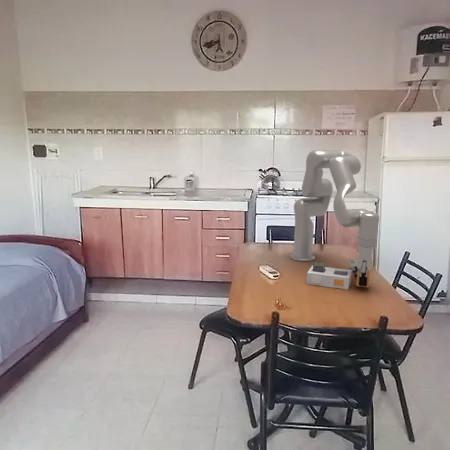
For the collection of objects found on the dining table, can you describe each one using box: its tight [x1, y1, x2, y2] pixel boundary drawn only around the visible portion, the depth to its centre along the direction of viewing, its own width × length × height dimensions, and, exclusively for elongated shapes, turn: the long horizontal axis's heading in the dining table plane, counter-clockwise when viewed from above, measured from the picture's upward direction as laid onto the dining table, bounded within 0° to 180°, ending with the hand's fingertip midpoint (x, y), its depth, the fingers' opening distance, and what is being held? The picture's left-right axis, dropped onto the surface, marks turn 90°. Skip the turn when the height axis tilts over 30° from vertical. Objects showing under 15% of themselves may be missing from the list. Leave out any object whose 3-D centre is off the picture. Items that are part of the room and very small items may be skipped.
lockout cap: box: [356, 268, 372, 289], centre depth 183 cm, size 5×5×7 cm
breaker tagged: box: [335, 271, 347, 276], centre depth 188 cm, size 4×4×4 cm
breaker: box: [313, 262, 326, 273], centre depth 191 cm, size 4×4×4 cm
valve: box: [348, 257, 358, 278], centre depth 201 cm, size 7×7×12 cm
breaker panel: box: [306, 264, 353, 291], centre depth 190 cm, size 12×18×5 cm
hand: (363, 283), depth 184 cm, fingers closed on lockout cap, 4 cm apart
